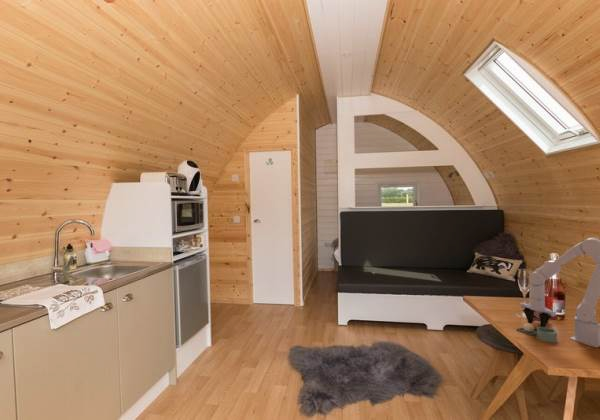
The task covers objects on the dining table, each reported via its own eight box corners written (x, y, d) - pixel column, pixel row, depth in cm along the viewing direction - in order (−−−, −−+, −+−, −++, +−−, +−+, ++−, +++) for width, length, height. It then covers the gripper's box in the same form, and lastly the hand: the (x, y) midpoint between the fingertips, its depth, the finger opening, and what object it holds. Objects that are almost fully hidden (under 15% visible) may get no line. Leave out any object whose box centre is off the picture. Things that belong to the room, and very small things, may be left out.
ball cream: (536, 332, 148) (536, 323, 148) (530, 334, 146) (530, 325, 146) (526, 329, 152) (526, 320, 152) (521, 330, 150) (521, 322, 150)
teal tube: (560, 341, 140) (560, 331, 140) (550, 344, 137) (550, 334, 137) (542, 335, 146) (542, 325, 146) (533, 338, 143) (533, 328, 143)
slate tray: (548, 331, 150) (548, 329, 150) (532, 336, 145) (532, 334, 145) (532, 326, 156) (532, 324, 156) (516, 330, 151) (516, 328, 151)
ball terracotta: (544, 330, 151) (544, 321, 150) (538, 331, 149) (538, 323, 149) (534, 327, 154) (534, 318, 154) (529, 328, 153) (529, 320, 152)
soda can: (531, 320, 164) (532, 294, 164) (529, 315, 170) (529, 291, 170) (549, 322, 161) (549, 296, 160) (546, 318, 167) (546, 292, 167)
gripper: (559, 300, 146) (559, 330, 147) (526, 292, 159) (525, 320, 160) (550, 302, 143) (550, 333, 144) (516, 294, 156) (516, 322, 157)
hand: (536, 326), depth 152 cm, fingers open, 5 cm apart
